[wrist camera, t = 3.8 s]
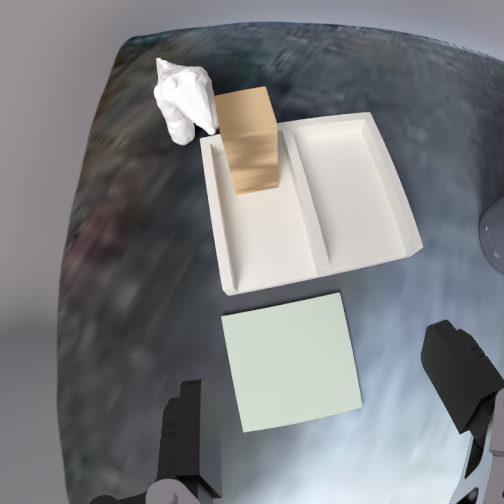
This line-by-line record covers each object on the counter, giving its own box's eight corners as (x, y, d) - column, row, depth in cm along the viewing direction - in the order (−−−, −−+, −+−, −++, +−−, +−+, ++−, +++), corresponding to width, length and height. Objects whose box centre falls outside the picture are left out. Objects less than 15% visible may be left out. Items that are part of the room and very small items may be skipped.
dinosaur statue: (201, 193, 35) (168, 126, 25) (145, 88, 44) (119, 34, 34) (255, 166, 36) (241, 92, 26) (184, 69, 45) (164, 13, 35)
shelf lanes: (363, 129, 37) (369, 112, 34) (410, 256, 33) (423, 247, 29) (206, 155, 38) (200, 138, 34) (228, 295, 33) (222, 289, 30)
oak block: (269, 153, 36) (265, 86, 25) (277, 187, 35) (277, 124, 24) (230, 161, 36) (213, 96, 26) (236, 195, 35) (220, 134, 24)
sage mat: (338, 292, 32) (339, 292, 32) (361, 406, 29) (362, 406, 28) (222, 316, 32) (221, 316, 32) (243, 431, 29) (243, 432, 28)
